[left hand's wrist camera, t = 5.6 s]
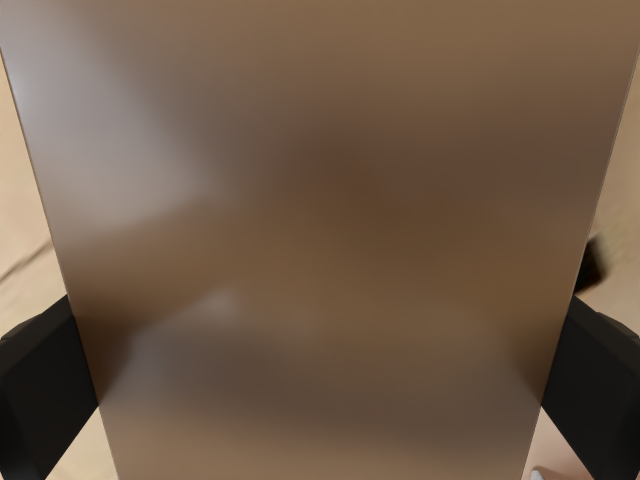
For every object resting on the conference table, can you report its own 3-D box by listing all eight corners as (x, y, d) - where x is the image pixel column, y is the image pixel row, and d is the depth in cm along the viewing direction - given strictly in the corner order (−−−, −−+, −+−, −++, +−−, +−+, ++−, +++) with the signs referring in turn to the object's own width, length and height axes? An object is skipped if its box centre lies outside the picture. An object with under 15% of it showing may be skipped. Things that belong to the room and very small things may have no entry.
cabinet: (137, -219, 11) (-288, -958, 3) (502, -219, 11) (924, -958, 3) (206, 320, 18) (119, 489, 10) (433, 320, 18) (519, 489, 10)
